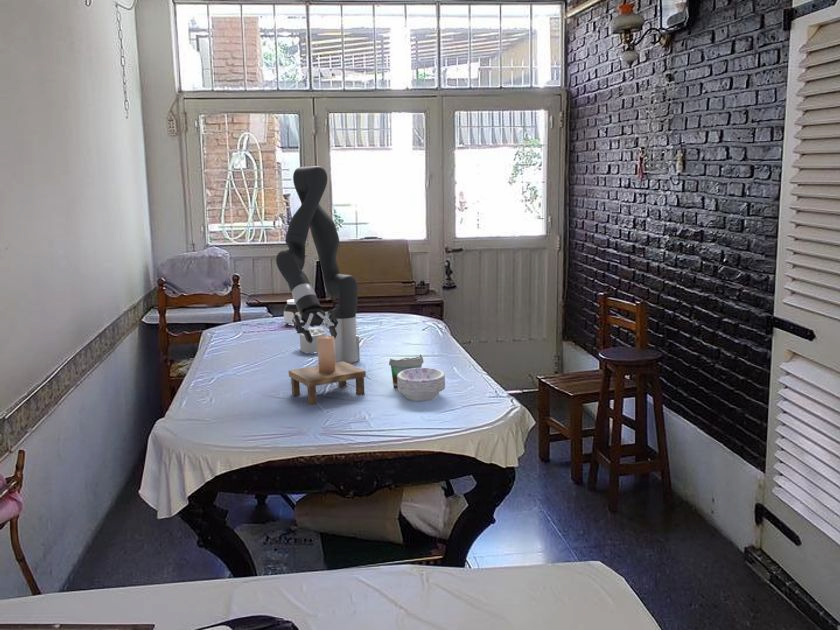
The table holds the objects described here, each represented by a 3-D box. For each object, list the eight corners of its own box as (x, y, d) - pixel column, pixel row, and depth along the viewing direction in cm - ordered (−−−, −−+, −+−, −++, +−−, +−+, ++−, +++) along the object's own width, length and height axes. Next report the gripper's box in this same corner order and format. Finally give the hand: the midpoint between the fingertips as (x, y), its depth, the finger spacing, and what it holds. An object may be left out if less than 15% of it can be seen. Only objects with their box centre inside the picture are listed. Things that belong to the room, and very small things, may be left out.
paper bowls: (408, 406, 249) (408, 382, 248) (390, 394, 263) (390, 370, 262) (453, 400, 255) (452, 375, 254) (433, 388, 269) (432, 365, 268)
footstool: (344, 384, 277) (343, 361, 275) (366, 394, 263) (365, 370, 262) (289, 393, 267) (288, 370, 265) (310, 405, 253) (308, 380, 252)
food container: (397, 392, 265) (396, 362, 264) (389, 387, 271) (388, 358, 269) (430, 386, 271) (430, 357, 269) (422, 382, 276) (421, 354, 274)
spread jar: (282, 326, 378) (281, 301, 376) (290, 321, 389) (289, 297, 387) (307, 326, 376) (306, 301, 374) (314, 321, 387) (313, 297, 385)
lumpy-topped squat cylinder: (326, 345, 336) (325, 325, 334) (326, 353, 323) (324, 331, 321) (301, 347, 335) (300, 326, 333) (299, 354, 322) (298, 332, 320)
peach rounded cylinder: (331, 367, 267) (329, 334, 265) (338, 370, 263) (336, 337, 261) (316, 369, 265) (314, 337, 262) (323, 373, 260) (321, 340, 258)
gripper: (289, 296, 265) (306, 336, 258) (328, 290, 273) (345, 329, 265) (283, 309, 271) (300, 349, 263) (322, 304, 278) (339, 342, 271)
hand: (323, 339), depth 264 cm, fingers open, 8 cm apart
